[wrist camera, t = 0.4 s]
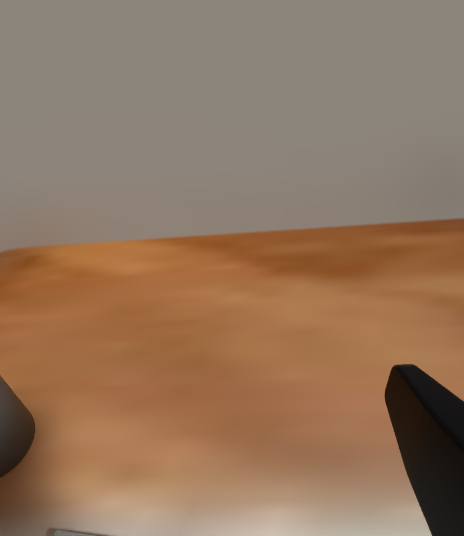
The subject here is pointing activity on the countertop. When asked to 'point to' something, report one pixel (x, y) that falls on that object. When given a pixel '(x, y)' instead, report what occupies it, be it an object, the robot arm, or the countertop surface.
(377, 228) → the countertop surface
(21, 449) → the post
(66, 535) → the label plate
